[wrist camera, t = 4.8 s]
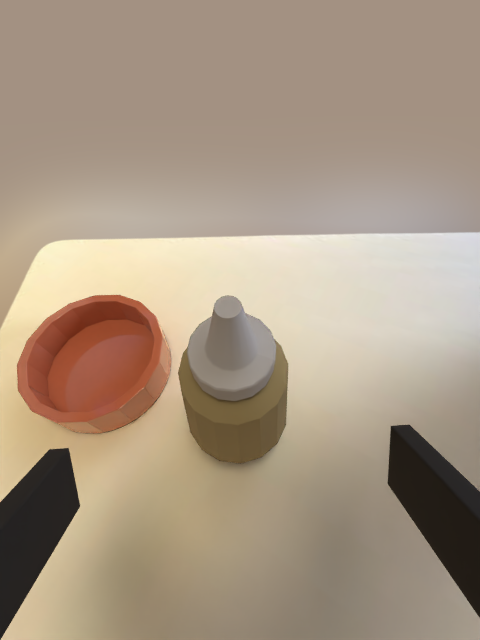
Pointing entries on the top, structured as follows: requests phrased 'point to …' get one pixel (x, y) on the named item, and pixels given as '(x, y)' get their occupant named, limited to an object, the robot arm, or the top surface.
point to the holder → (95, 364)
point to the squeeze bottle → (234, 384)
